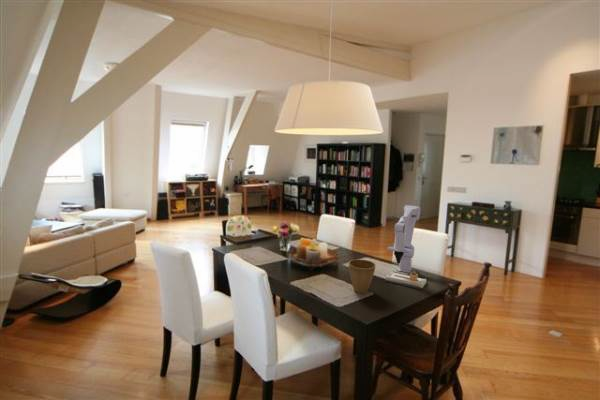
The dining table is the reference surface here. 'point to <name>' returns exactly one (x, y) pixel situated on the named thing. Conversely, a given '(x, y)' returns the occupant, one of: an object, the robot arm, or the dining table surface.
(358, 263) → the plant pot
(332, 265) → the dining table surface
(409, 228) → the robot arm
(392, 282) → the dressed cords
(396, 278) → the white slider switch panel
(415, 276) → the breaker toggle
